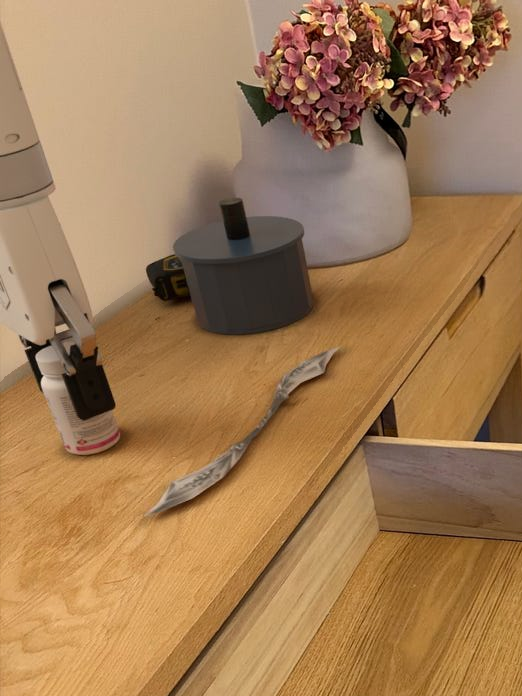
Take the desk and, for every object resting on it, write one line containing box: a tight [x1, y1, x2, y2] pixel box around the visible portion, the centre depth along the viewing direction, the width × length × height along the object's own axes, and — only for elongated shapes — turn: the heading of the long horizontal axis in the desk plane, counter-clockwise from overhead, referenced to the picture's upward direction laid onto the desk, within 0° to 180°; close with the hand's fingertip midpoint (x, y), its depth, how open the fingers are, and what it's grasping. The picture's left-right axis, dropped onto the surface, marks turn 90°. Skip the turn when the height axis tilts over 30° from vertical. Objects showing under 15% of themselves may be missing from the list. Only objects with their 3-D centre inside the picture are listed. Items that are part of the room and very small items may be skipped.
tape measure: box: [145, 253, 191, 302], centre depth 113 cm, size 7×7×4 cm
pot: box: [181, 238, 314, 336], centre depth 105 cm, size 13×13×8 cm
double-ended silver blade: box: [143, 345, 342, 517], centre depth 86 cm, size 32×1×5 cm
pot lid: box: [172, 197, 305, 264], centre depth 102 cm, size 14×14×5 cm
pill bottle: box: [36, 341, 121, 456], centre depth 83 cm, size 5×5×8 cm
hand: (77, 399), depth 83 cm, fingers open, 6 cm apart
